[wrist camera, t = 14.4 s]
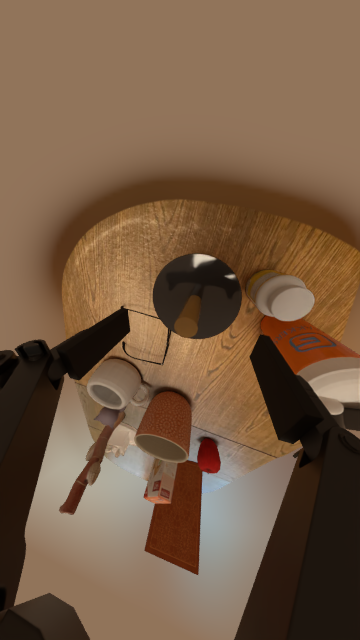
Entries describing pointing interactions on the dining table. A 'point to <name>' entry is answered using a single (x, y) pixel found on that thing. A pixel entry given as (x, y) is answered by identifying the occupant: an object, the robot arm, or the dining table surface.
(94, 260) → the dining table surface
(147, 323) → the dining table surface
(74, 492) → the vase
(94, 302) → the dining table surface
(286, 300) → the pill bottle
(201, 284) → the lid
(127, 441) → the dish
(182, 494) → the book
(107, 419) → the cat figurine
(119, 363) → the mug
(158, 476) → the cracker box
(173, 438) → the planter
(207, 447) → the apple
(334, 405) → the shaker bottle
